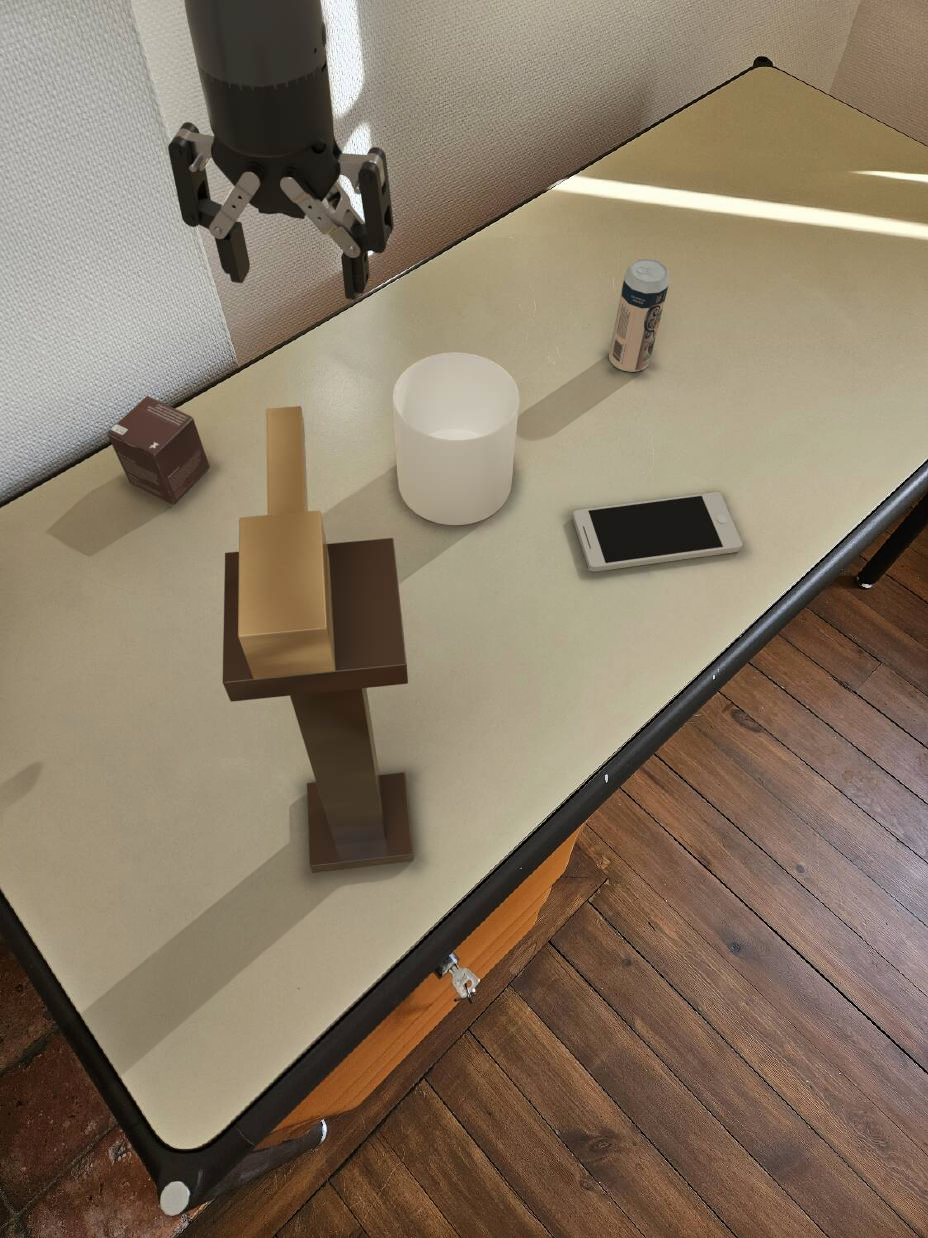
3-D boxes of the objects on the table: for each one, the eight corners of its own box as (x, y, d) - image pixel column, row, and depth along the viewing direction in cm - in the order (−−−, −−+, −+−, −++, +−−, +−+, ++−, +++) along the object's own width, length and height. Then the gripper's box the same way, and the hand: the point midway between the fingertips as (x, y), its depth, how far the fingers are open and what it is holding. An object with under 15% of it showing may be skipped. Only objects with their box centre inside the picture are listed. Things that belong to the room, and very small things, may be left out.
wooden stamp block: (253, 680, 44) (237, 637, 41) (253, 427, 53) (240, 375, 50) (335, 671, 45) (327, 628, 41) (321, 422, 54) (313, 370, 50)
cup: (535, 485, 93) (546, 398, 83) (451, 545, 89) (452, 461, 79) (457, 423, 98) (459, 334, 88) (374, 478, 94) (366, 390, 83)
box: (212, 468, 94) (195, 417, 88) (173, 507, 91) (153, 456, 85) (166, 445, 95) (147, 393, 89) (127, 483, 93) (104, 431, 86)
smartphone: (741, 551, 89) (744, 545, 88) (589, 572, 87) (590, 567, 87) (717, 496, 93) (720, 490, 92) (571, 516, 91) (572, 509, 90)
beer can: (648, 377, 102) (671, 287, 92) (606, 372, 103) (624, 281, 93) (650, 349, 105) (672, 258, 95) (609, 344, 105) (627, 252, 95)
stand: (306, 880, 71) (222, 683, 44) (302, 784, 75) (224, 552, 48) (420, 866, 72) (406, 664, 45) (411, 773, 76) (393, 537, 49)
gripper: (117, 63, 51) (186, 303, 65) (363, 94, 50) (380, 332, 63) (166, 2, 55) (221, 240, 69) (395, 29, 54) (404, 266, 67)
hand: (297, 284), depth 66 cm, fingers open, 8 cm apart
